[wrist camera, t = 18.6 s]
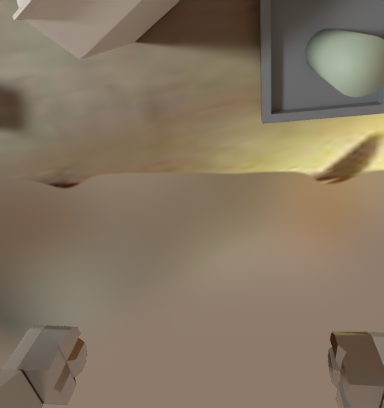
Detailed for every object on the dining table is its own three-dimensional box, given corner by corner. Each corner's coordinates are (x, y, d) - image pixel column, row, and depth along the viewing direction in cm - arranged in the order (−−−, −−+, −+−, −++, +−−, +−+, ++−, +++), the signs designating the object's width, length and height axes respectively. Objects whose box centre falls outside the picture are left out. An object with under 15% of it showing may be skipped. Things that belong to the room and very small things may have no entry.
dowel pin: (305, 30, 35) (334, 39, 24) (350, 25, 34) (398, 31, 24) (304, 74, 37) (329, 99, 26) (345, 70, 36) (388, 94, 26)
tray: (259, -17, 33) (260, -18, 32) (408, -40, 31) (418, -43, 29) (261, 118, 40) (262, 123, 39) (383, 108, 38) (390, 112, 36)
